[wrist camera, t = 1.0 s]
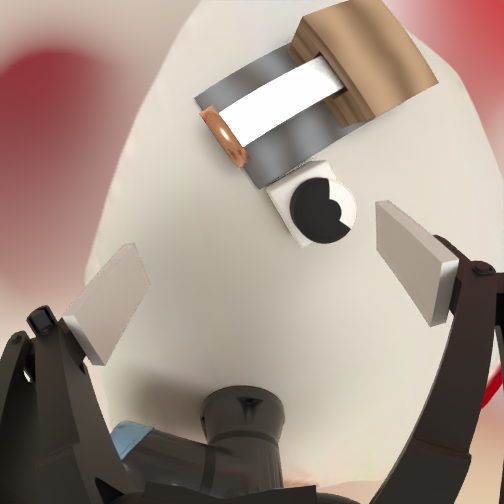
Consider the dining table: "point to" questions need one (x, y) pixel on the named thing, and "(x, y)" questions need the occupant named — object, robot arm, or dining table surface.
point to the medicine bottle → (314, 204)
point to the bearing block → (347, 68)
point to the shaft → (271, 106)
